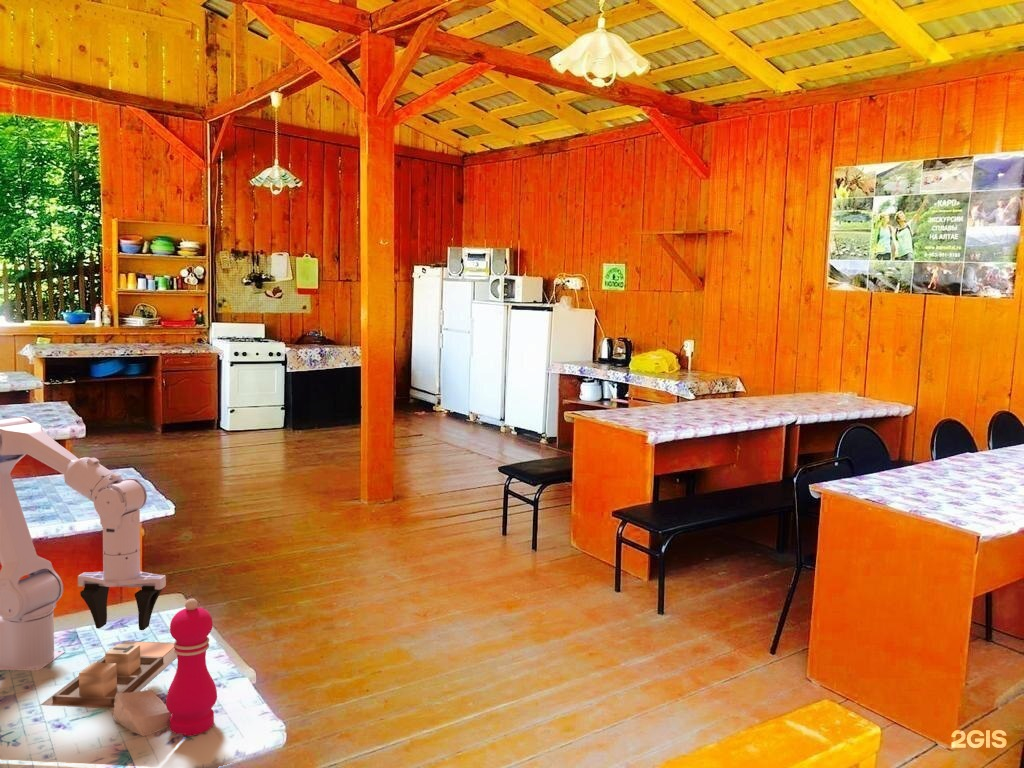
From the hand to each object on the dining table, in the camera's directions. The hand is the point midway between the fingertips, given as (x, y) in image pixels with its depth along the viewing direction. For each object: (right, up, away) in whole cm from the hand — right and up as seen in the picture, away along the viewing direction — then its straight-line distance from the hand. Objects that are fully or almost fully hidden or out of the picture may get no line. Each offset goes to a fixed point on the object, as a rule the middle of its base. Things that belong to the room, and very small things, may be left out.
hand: (122, 627), depth 135 cm
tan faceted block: (+11, -10, -16) cm, 22 cm away
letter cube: (0, -8, +1) cm, 8 cm away
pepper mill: (+19, -10, -16) cm, 27 cm away
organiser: (0, -8, +1) cm, 8 cm away
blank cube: (0, -8, -7) cm, 11 cm away
